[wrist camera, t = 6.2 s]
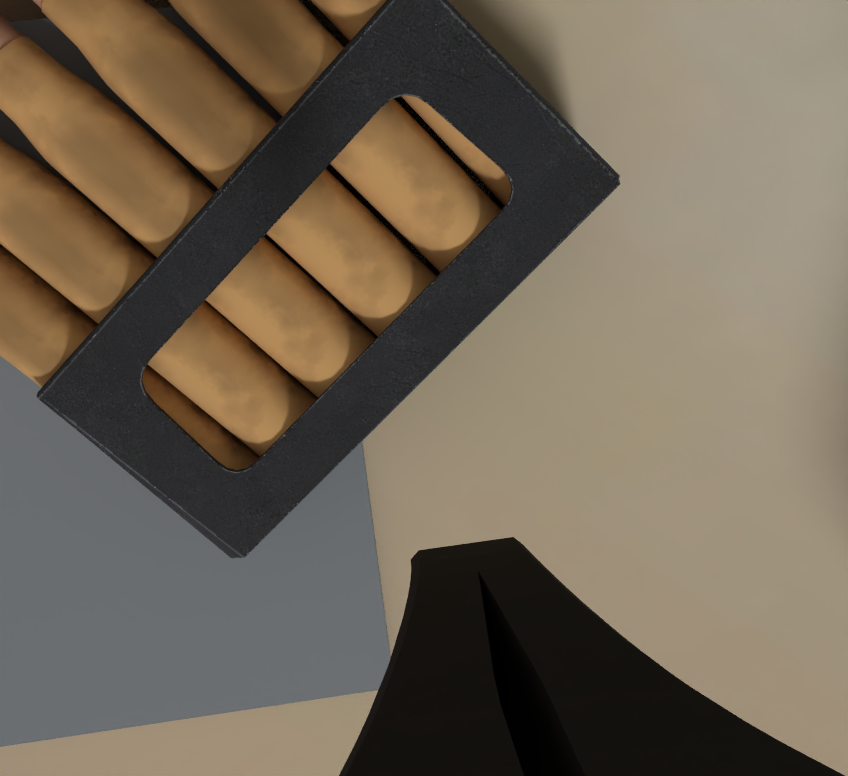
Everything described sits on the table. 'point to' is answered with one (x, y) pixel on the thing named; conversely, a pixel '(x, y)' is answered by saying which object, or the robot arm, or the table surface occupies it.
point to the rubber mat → (164, 561)
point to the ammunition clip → (265, 232)
